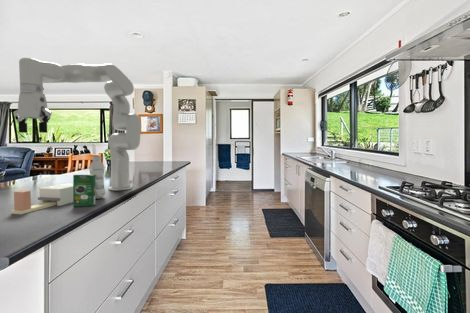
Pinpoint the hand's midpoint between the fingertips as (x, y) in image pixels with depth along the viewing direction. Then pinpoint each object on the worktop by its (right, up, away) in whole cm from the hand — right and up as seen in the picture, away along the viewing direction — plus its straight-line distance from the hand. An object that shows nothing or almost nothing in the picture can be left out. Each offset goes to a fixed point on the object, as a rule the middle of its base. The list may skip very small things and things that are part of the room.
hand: (33, 132), depth 112 cm
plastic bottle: (+18, -30, +16) cm, 39 cm away
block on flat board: (+4, -31, -2) cm, 31 cm away
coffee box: (+20, -31, +2) cm, 37 cm away
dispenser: (+6, -30, +10) cm, 32 cm away
